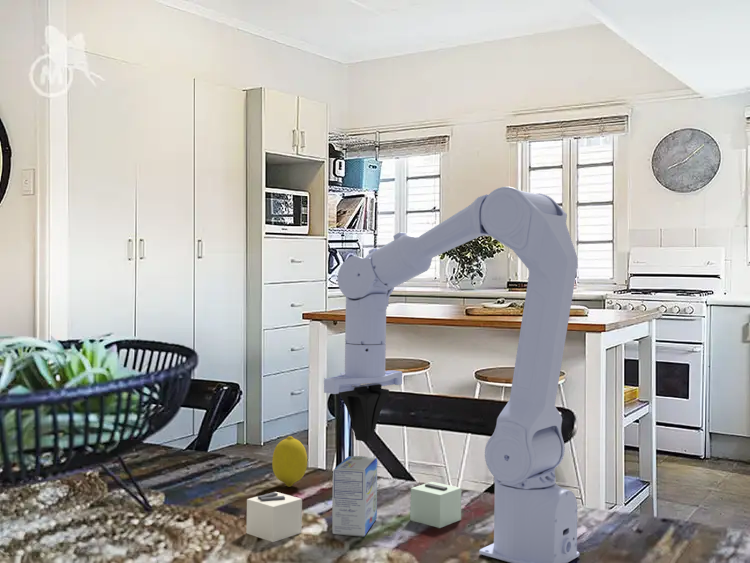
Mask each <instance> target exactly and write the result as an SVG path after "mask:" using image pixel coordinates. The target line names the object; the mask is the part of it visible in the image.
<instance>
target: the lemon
mask: <svg viewBox="0 0 750 563" xmlns="http://www.w3.org/2000/svg"><path fill="white" fill-rule="evenodd" d="M271 464H272V466H271V467H272V471H273V474H274V476H275V477H276V478H277V480H279V481H280V482H282V483H284V484H285V485H286V486H287V487H292V486H294V484H295V483H297V482H299V481H300V480H302V478H303V477H304V475H305V474H306V471H307V468H308V455H307V450H306V448H305V446H304V445H303V443H302V442H301V441H300V440H299V439H297V438H294V437H293V436H291V435H290V436H287V437H286V438H285V439H282V440H280V441H279V442H278V443H277V444H276V446H275V447H274V450H273V453H272V462H271Z"/></svg>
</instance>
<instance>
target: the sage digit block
mask: <svg viewBox="0 0 750 563" xmlns="http://www.w3.org/2000/svg"><path fill="white" fill-rule="evenodd" d="M409 508H410V509H409V510H410V512H409V513H410V515H409V519H410V521H411V522H416V523H420V524H423V525H427V526H431V527H435V528H437V529H441V528H443V527H446V526H449V525H451V524H453V523H456V522H459V521H461V520H462V487H459V486H454V485H449V484H445V483H442V482H441V483H440V482H435V481H429V482H426V483H423V484H420V485H417V486H414V487H411V488H410V506H409Z"/></svg>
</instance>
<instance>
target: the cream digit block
mask: <svg viewBox="0 0 750 563" xmlns="http://www.w3.org/2000/svg"><path fill="white" fill-rule="evenodd" d="M302 515H303V498H300V497H296V496H293V495H290V494H286V493H283V492H282V493H281V492H277V491H273V492H270V493H265V494H262V495H257V496H253V497H250V498H247V499H246V528H245V529H246V531H245V532H246V534H247V535H250V536H253V537H256V538H259V539H262V540H265V541H268V542H272V543H274V542H276V541H280V540H281V541H282V540H283V539H286V538H289V537H293V536H295V535H299V534H302V529H303V528H302V524H303V522H302V519H303V518H302V517H303V516H302Z"/></svg>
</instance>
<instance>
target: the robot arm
mask: <svg viewBox="0 0 750 563" xmlns="http://www.w3.org/2000/svg"><path fill="white" fill-rule="evenodd" d="M567 219H568V213H566V212H565V210H564V209H563V208H562V207H561V206H560V205H559V204H558V203H557V202H556V201H555V200H554V198H552V197H551V196H549V195H547V194H543V193H534V192H529V191H524V190H519V188H518V189H517V188H515V187H512V186H501V187H498V188H496V189H494V190H492V191H491V192H490V193H489V194H483V195H481V196H478V197H477V198H475V199H474V200H473V202H472V203H471V204H469V205H468V206H466V207H464V208H462V210H460V211H458V212H457V213H455V214H453V215H452V216H450V217H448V218H446V219H444V221H442V222H440V223H439V224H437V225H436V226H434V227H432V228H431V229H429V230H427V231H425V232H424V233H422V234H421V235H419V234H416V233H414V232H402V231H401V232H398V233H395V234H394V235H393V240H392V241H391V242H388V243H387V244H385V245H383V246H381V247H379V248H375V247H373V248H371V249H370V250H368V254H367V255H366V256H365V257H361V256H359V255H358V256H357V255H355V256H354V255H353V256H349V257H348V258H347V259H345V261H344V262H343V263H342V264H341V265H340V267H339V270H338V272H337V284H338V288H339V290H340V292H341V293H342V294H343V295H344V297H345V324H344V325H345V328H344V330H345V331H344V333H345V336H344V337H345V338H344V340H345V341H344V342H345V343H344V371H343V372H340V374H339V375H335V376H332V377H326V378H324V379H323V393H325V394H332V395H339V396H340V398H341V400H342V401H343V403H344V406H345V408H346V410H347V412H348V415H349V419H350V422H351V424H352V429H353V435H354V439H355V441H360V442H365V443H366V442H371V441H373V438H374V435H375V431H376V427H377V423H378V419H379V417H380V414H381V412H382V409H383V408H384V405H385V404H386V402H387V400H388V398H389V397H390V389H387V388H382V387H385V386H392V385H396V386H400V385H403V371H401V370H393V369H392V370H391V369H389V370H386V359H387V358H386V357H387V356H386V355H387V354H386V353H387V352H386V351H387V348H386V347H387V345H386V344H387V343H386V342H387V340H386V339H387V309H388V307H389V300H390V296H391V294H392V293H393V291H395V290H394V289H395V288H396V287H398V286H400V285H402V284H404V283H406V282H407V281H410V280H411V279H413V278H415V277H417V276H419V275H421V274H423V273H425V272H427V271H428V270H430V267H431V265H432V261H433V258H435V257H438V256H439V255H442V254H444V253H446V252H448V251H450V250H451V251H452V250H454V249H455V248H457V247H459V246H462V245H464V244H466V243H468V242H470V241H473V240H475V239H477V238H479V237H483V236H485V237H486V236H487V237H492V238H493V239H494V240H496V241H497V242H499V243H500V244H502V245H504V246H506V247H507V248H509V249H510V250H512V252H514V253H515V255H516V256H517V257H518V258H519V260H520V261H521V262H522V264H524V267H526V268H527V270H528V279H527V286H526V292H525V299H524V303H523V304H524V305H523V312H522V319H521V322H520V323H521V325H520V329H519V337H518V344H517V349H516V350H517V351H516V356H515V363H514V370H513V376H512V381H511V387H510V388H511V389H510V394H509V400H508V401H507V403H506V405H505V406H504V407H503V408H502V410H501V411H500V413H499V415H498V416H497V418H496V425H495V428H494V432H493V433H492V435H491V436H490V437H489V439H488V440H487V442H486V444H485V448H484V459H485V460H484V461H485V463H486V466H487V470H489V472H490V474H491V475H492V476H493V477H494V478H493V480H494V481H493V483H494V502H493V503H494V506H493V507H494V509H493V510H494V511H493V513H494V514H493V517H494V519H493V542H492V543H491V544H489V545H487V546H484V547H481V548H480V549H479V550H478V552H479V554H480V555H481V556H482V555H483V556H486V557H488V558H489V557H490V558H493V559H497V560H500V561H504V562H507V563H569V562H571V561H573V560H575V559H576V558H578V557H579V556H580V552H579V551H578V501H577V498H576V495H575V493H574V492H573V491H572V490H570V489H566V488H563V487H561V486H559V485H558V484H557V483H556V481H557V477H556V468H557V467H558V466H559V465H560V464H561V463H562V461H563V459H564V457H565V452H566V451H565V449H566V446H565V442H564V438H563V434H562V423H563V417H562V415H561V413H560V412H559V410H558V408H557V407H556V400H557V394H558V388H559V382H560V376H561V375H560V374H561V368H562V363H563V356H564V352H565V350H564V349H565V345H566V338H567V332H568V327H569V318H570V314H571V306H572V301H573V294H574V290H575V282H576V275H577V270H578V255H577V252H576V249H575V246H574V243H573V240H572V237H571V235H570V231H569V228H568V226H567Z"/></svg>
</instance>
